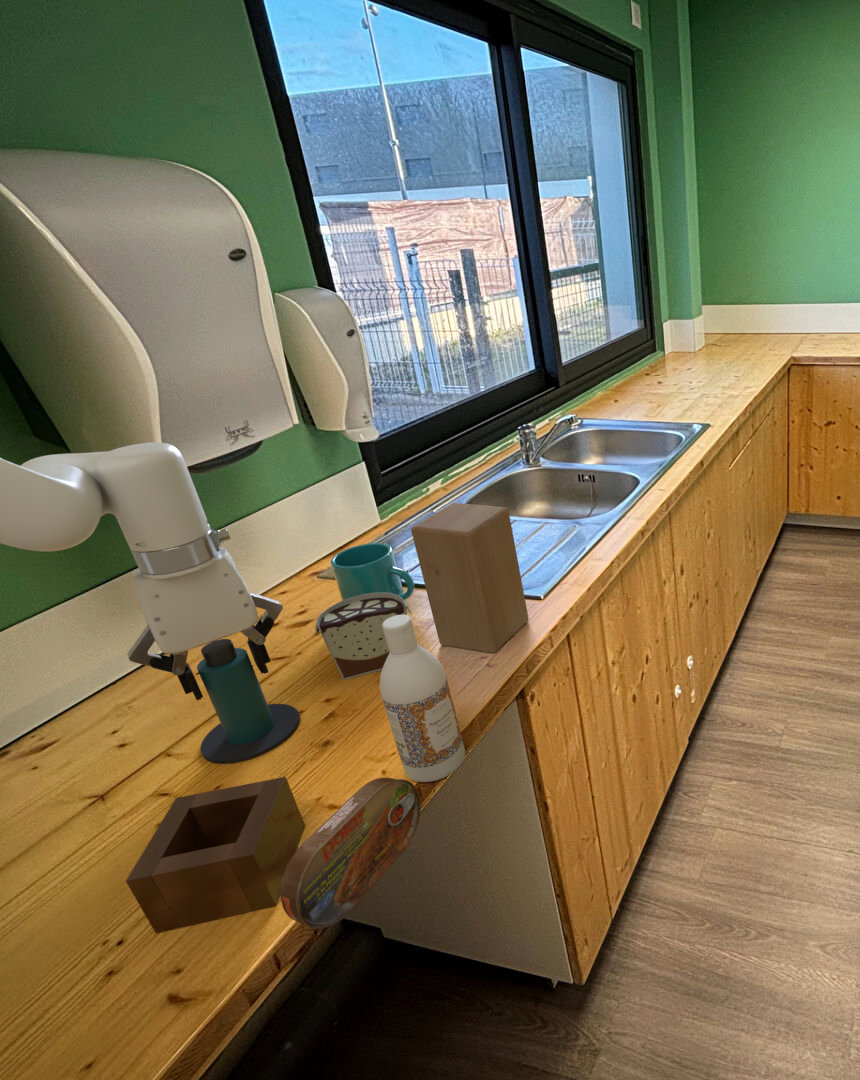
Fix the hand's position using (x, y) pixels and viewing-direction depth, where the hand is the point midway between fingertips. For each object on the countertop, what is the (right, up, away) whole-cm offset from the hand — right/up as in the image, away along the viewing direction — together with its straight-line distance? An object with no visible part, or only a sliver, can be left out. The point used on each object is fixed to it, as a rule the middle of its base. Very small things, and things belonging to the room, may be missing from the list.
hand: (230, 680), depth 87 cm
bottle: (0, -7, +3) cm, 8 cm away
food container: (+10, -1, +18) cm, 20 cm away
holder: (+12, -16, -16) cm, 26 cm away
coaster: (0, -8, +4) cm, 8 cm away
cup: (+5, +5, +30) cm, 31 cm away
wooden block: (+24, +3, +24) cm, 34 cm away
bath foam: (+27, -10, -3) cm, 29 cm away
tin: (+26, -16, -17) cm, 35 cm away
